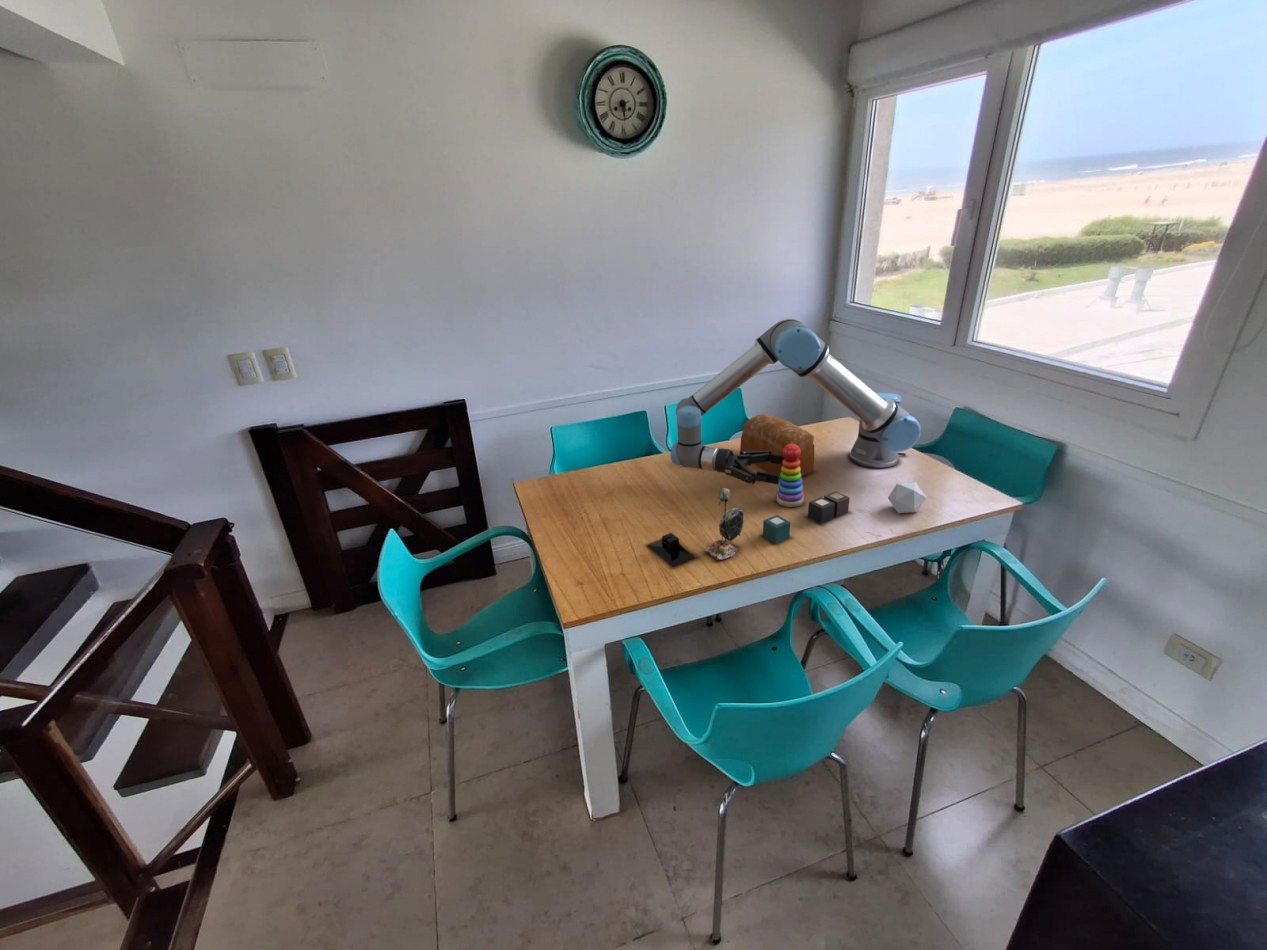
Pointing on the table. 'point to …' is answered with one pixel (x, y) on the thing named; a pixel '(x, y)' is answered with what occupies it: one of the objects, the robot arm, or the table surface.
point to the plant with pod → (727, 529)
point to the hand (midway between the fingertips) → (785, 470)
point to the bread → (777, 441)
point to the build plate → (671, 550)
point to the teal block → (776, 529)
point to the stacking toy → (790, 478)
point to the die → (906, 497)
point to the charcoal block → (821, 510)
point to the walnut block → (839, 503)
